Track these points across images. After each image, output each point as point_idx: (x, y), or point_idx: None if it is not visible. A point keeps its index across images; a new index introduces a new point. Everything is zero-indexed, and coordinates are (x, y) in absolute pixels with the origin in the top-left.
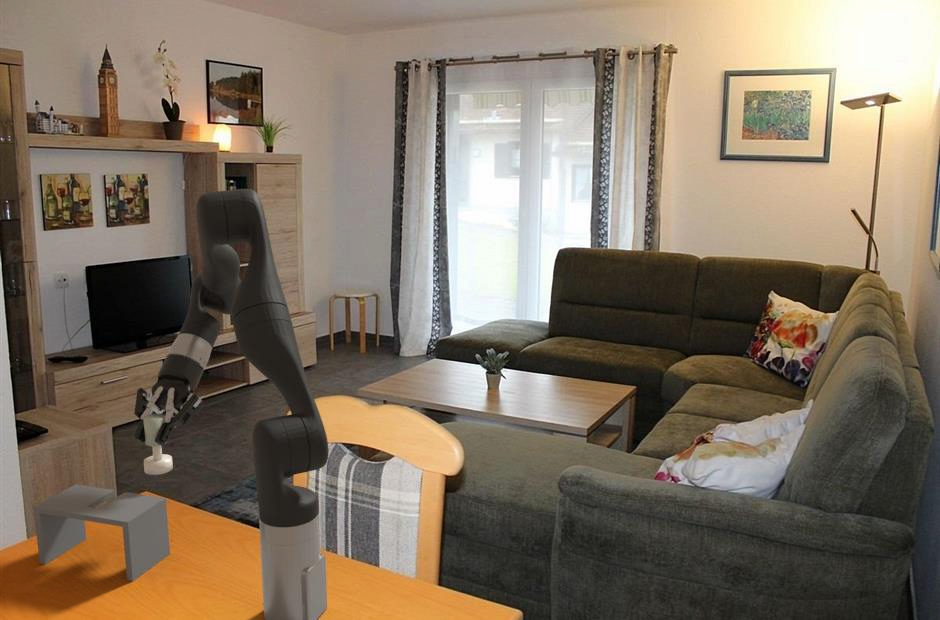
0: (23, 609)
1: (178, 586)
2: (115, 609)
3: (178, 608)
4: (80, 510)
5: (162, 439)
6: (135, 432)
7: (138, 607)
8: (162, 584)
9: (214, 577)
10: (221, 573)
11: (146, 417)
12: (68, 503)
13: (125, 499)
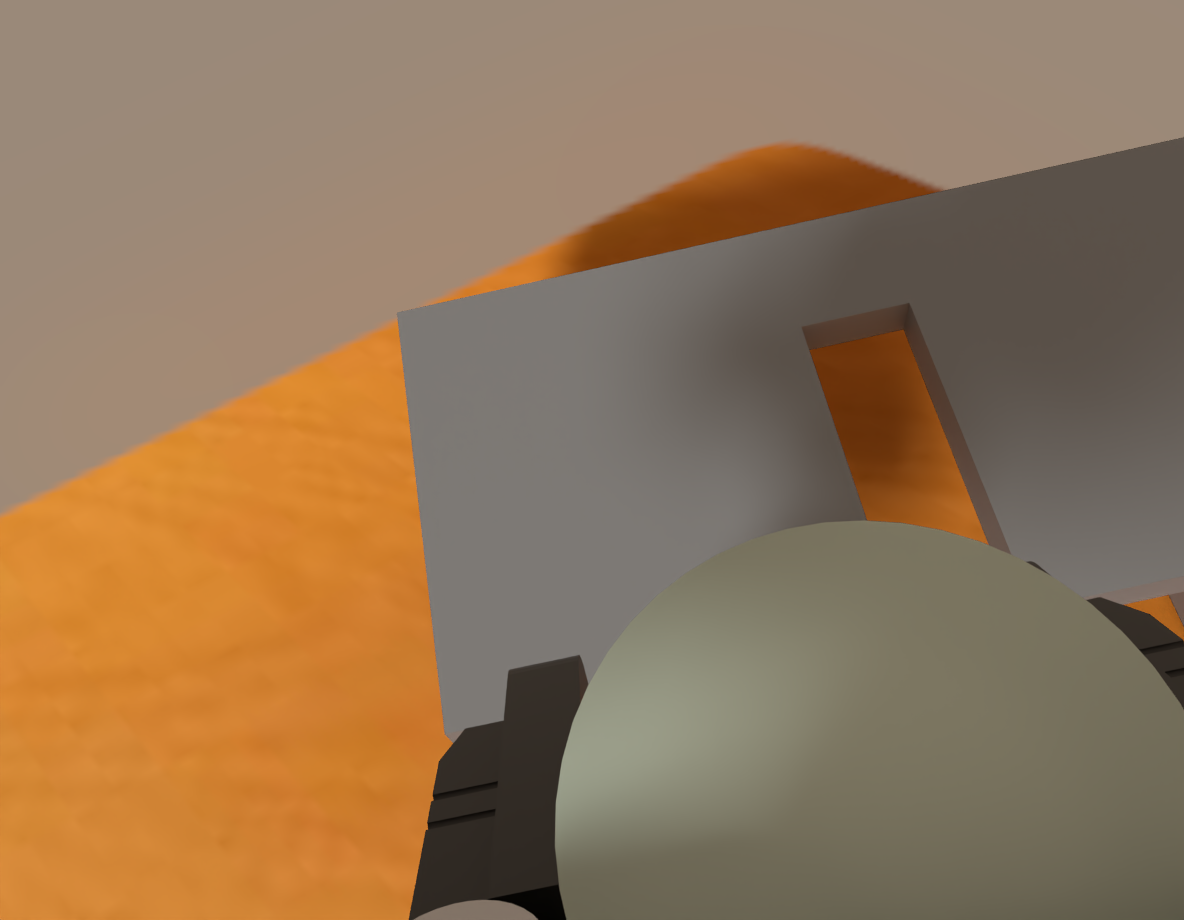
0: (745, 167)
1: (247, 609)
2: (387, 345)
3: (125, 483)
4: (878, 250)
5: (468, 742)
6: (1154, 623)
7: (303, 401)
8: (338, 580)
9: (116, 772)
10: (101, 827)
11: (1048, 667)
12: (1088, 267)
13: (755, 534)
